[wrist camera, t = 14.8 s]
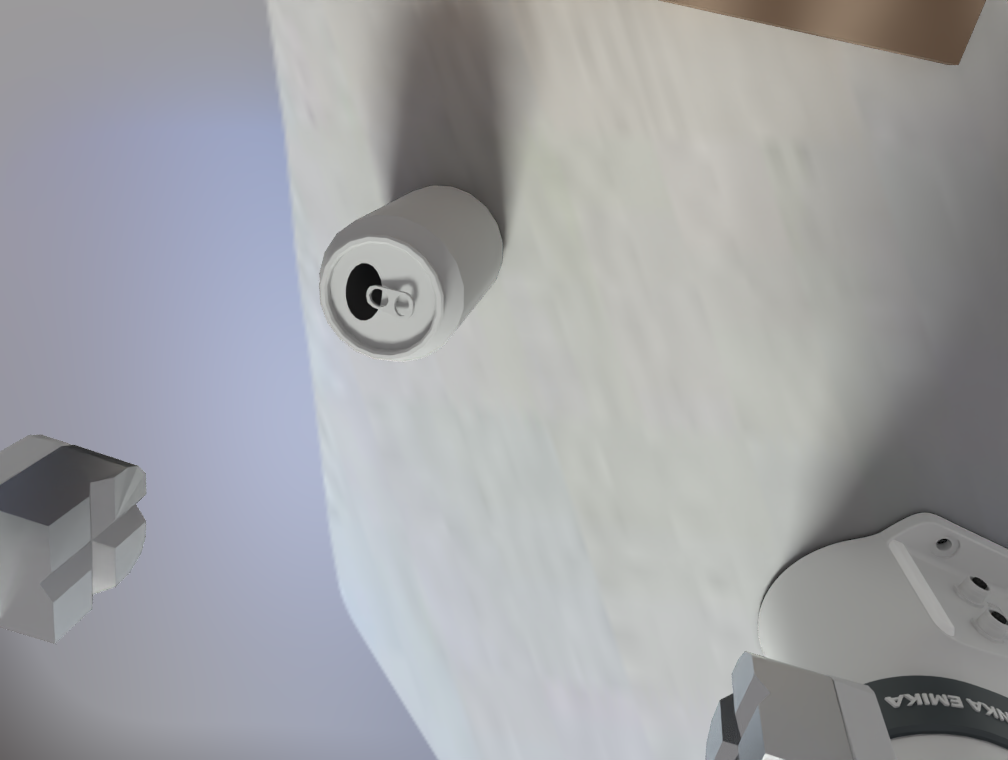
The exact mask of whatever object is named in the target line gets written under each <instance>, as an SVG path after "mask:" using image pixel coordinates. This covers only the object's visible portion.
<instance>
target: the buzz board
mask: <svg viewBox="0 0 1008 760" xmlns="http://www.w3.org/2000/svg"><path fill="white" fill-rule="evenodd" d="M660 1H664V2H669V3H673V4H678V5H682V6H687V7H691V8H696V9H700V10H705V11H709V12H714V13H718V14H723V15H727V16H732V17H736V18H740V19H745V20H749V21H754V22H758V23H763V24H767V25H772V26H776V27H781V28H785V29H790V30H794V31H799V32H803V33H808V34H812V35H817V36H821V37H826V38H830V39H835V40H839V41H844V42H848V43H852V44H857V45H861V46H866V47H870V48H875V49H879V50H884V51H888V52H893V53H897V54H902V55H906V56H911V57H915V58H920V59H924V60H929V61H933V62H938V63H942V64H947V65H959V62H960V60H961V58H962V55H963V53H964V51H965V48H966V46H967V44H968V41H969V39H970V37H971V34H972V32H973V30H974V27H975V25H976V23H977V20H978V18H979V16H980V13H981V11H982V8H983V6H984V4H985V1H986V0H660Z"/></svg>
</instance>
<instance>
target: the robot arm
mask: <svg viewBox="0 0 1008 760" xmlns="http://www.w3.org/2000/svg"><path fill="white" fill-rule="evenodd" d="M145 495H146V473H145V472H144V471H143V470H142V469H141V468H140V467H139V466H137V465H134V464H130V463H127V462H124V461H122V460H119V459H116V458H113V457H110V456H106V455H103V454H100V453H97V452H94V451H91V450H88V449H85V448H82V447H79V446H76V445H70V444H68V443H66V442H63V441H59V440H56V439H53V438H50V437H47V436H44V435H28V436H26V437H25V438H23V439H21V440H19V441H18V442H16V443H14V444H12V445H11V446H9V447H7V448H6V449H4V450H2V451H0V628H4V629H7V630H11V631H14V632H17V633H20V634H24V635H27V636H31V637H34V638H37V639H40V640H44V641H47V642H50V643H54V644H56V643H57V641H59V640H60V639H61V638H62V637H63V636H64V635H65V634H66V633H67V632H68V631H69V630H70V629H71V628H73V627H74V625H76V624H77V623H78V622H79V621H80V620H81V619H82V618H83V617H84V616H85V615H86V614H87V613H88V612H90V611H91V610H92V603H93V594H96V593H99V592H102V591H105V590H108V589H111V588H114V587H116V586H117V585H118V584H119V583H120V582H121V581H122V580H123V579H124V578H125V577H126V576H127V575H128V574H129V573H130V572H131V570H132V568H133V566H134V565H135V563H136V561H137V559H138V557H139V556H140V554H141V552H142V548H143V544H144V541H145V537H146V520H145V519H144V517H143V515H142V514H141V512H140V511H139V509H138V507H137V505H136V503H137V502H138V501H140V500H141V499H142V498H143V497H144V496H145ZM941 539H948V540H947V541H946V542H945V543H943V544H937V542H938V541H939V540H941ZM758 636H759V642H760V645H761V649H762V651H763V654H764V656H765V657H764V656H760V655H757V654H754V653H750V652H747V651H745V652H744V653H743V654H742V656H741V657H740V658H739V659H738V661H737V664H736V666H735V668H734V670H733V672H732V685H733V694H731V695H729V696H727V697H725V698H723V699H721V700H720V701H719V704H718V706H717V708H716V711H715V713H714V716H713V718H712V721H711V726H710V730H709V734H708V739H707V746H706V759H705V760H1008V549H1006V548H1004V547H1002V546H1000V545H998V544H996V543H994V542H992V541H990V540H988V539H985V538H983V537H981V536H979V535H977V534H975V533H973V532H971V531H969V530H967V529H965V528H963V527H960V526H958V525H956V524H954V523H952V522H950V521H948V520H946V519H944V518H942V517H939V516H937V515H935V514H931V513H918V514H915V515H912V516H909V517H907V518H905V519H903V520H901V521H899V522H897V523H895V524H894V525H892V526H890V527H889V528H887V529H885V530H884V531H882V532H880V533H878V534H875V535H872V536H868V537H864V538H858V539H853V540H848V541H843V542H839V543H835V544H832V545H829V546H826V547H824V548H821V549H819V550H816V551H814V552H812V553H810V554H808V555H806V556H804V557H803V558H801V559H800V560H798V561H796V562H795V563H794V564H792V565H791V566H790V567H789V568H787V569H786V570H785V571H784V572H783V573H782V574H781V575H780V576H779V577H778V578H777V579H776V581H775V582H774V583H773V584H772V586H771V587H770V589H769V590H768V592H767V594H766V596H765V598H764V600H763V603H762V605H761V608H760V612H759V617H758Z"/></svg>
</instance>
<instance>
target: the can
mask: <svg viewBox="0 0 1008 760" xmlns="http://www.w3.org/2000/svg"><path fill="white" fill-rule="evenodd" d="M502 259H503V242H502V238H501V235H500V231H499V228H498V224H497V223H496V221H495V219H494V218H493V216H492V215H491V213H490V212H489V210H488V209H487V207H486V206H485V205H483V204H482V203H481V202H480V201H479V200H477V199H476V198H475V197H474V196H472V195H471V194H470V193H467V192H465V191H462V190H460V189H457V188H455V187H452V186H437V185H432V186H428V187H425V188H421V189H418V190H414V191H412V192H410V193H408V194H406V195H404V196H402V197H401V198H399V199H397V200H395V201H393V202H391V203H389V204H387V205H385V206H383V207H381V208H379V209H377V210H375V211H373V212H371V213H369V214H367V215H365V216H363V217H361V218H359V219H358V220H356V221H354V222H353V223H351V224H350V225H348V226H347V227H346V228H344V229H343V230H342V231H340V232H339V233H337V234H336V236H335V237H334V239H333V240H332V242H331V244H330V245H329V247H328V248H327V250H326V251H325V253H324V257H323V261H322V265H321V269H320V273H319V275H320V283H319V289H320V304H321V306H322V309H323V312H324V314H325V317H326V320H327V322H328V324H329V325H330V326H331V328H332V329H333V331H334V332H335V333H336V335H337V336H338V337H339V339H340V340H342V341H343V342H344V343H346V344H347V345H348V346H349V347H351V348H352V349H353V350H354V351H356V352H358V353H361V354H363V355H366V356H368V357H370V358H373V359H380V360H388V361H397V362H407V361H412V360H417V359H421V358H425V357H427V356H429V355H430V354H432V353H433V352H435V351H437V350H438V349H440V348H442V347H443V346H444V345H445V344H446V342H447V341H448V340H449V339H450V337H451V336H452V335H453V334H454V332H455V331H456V330H457V329H458V327H459V326H460V325H461V324H462V322H463V321H464V320H465V319H466V317H467V316H468V315H469V314H470V312H471V311H472V310H473V309H474V307H475V306H476V305H477V304H478V302H479V301H480V300H481V299H482V297H483V296H484V295H485V293H486V292H487V291H488V290H489V288H490V287H491V286H492V285H493V283H494V282H495V281H496V279H497V276H498V273H499V271H500V268H501V265H502Z"/></svg>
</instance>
